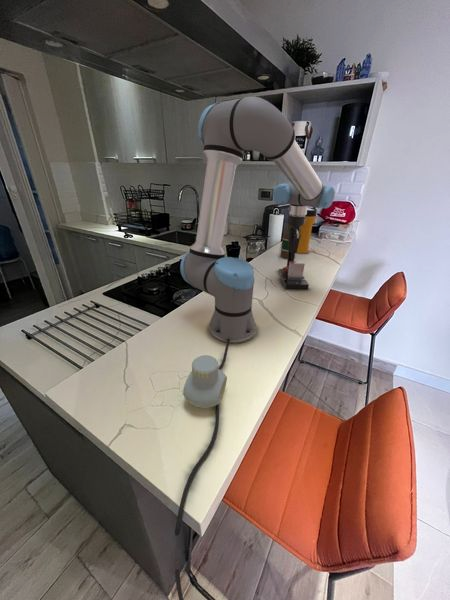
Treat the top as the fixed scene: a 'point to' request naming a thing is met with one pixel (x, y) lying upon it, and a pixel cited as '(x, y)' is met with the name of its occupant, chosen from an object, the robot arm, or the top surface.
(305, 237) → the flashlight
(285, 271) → the button block
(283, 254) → the beer bottle
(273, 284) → the top surface
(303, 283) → the control panel
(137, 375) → the top surface
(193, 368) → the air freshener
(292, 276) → the white upright panel
